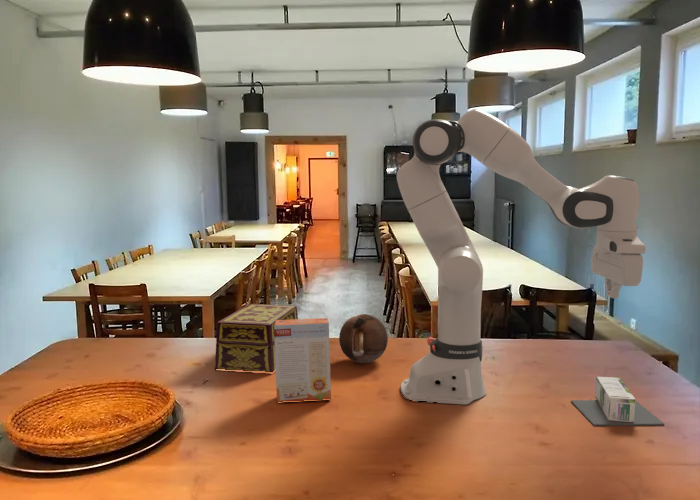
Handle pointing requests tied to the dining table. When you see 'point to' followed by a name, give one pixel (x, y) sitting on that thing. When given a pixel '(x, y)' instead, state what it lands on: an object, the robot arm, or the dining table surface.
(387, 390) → the dining table surface
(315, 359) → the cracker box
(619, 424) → the mat
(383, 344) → the wooden sphere
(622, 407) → the syrup box
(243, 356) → the decorative box
